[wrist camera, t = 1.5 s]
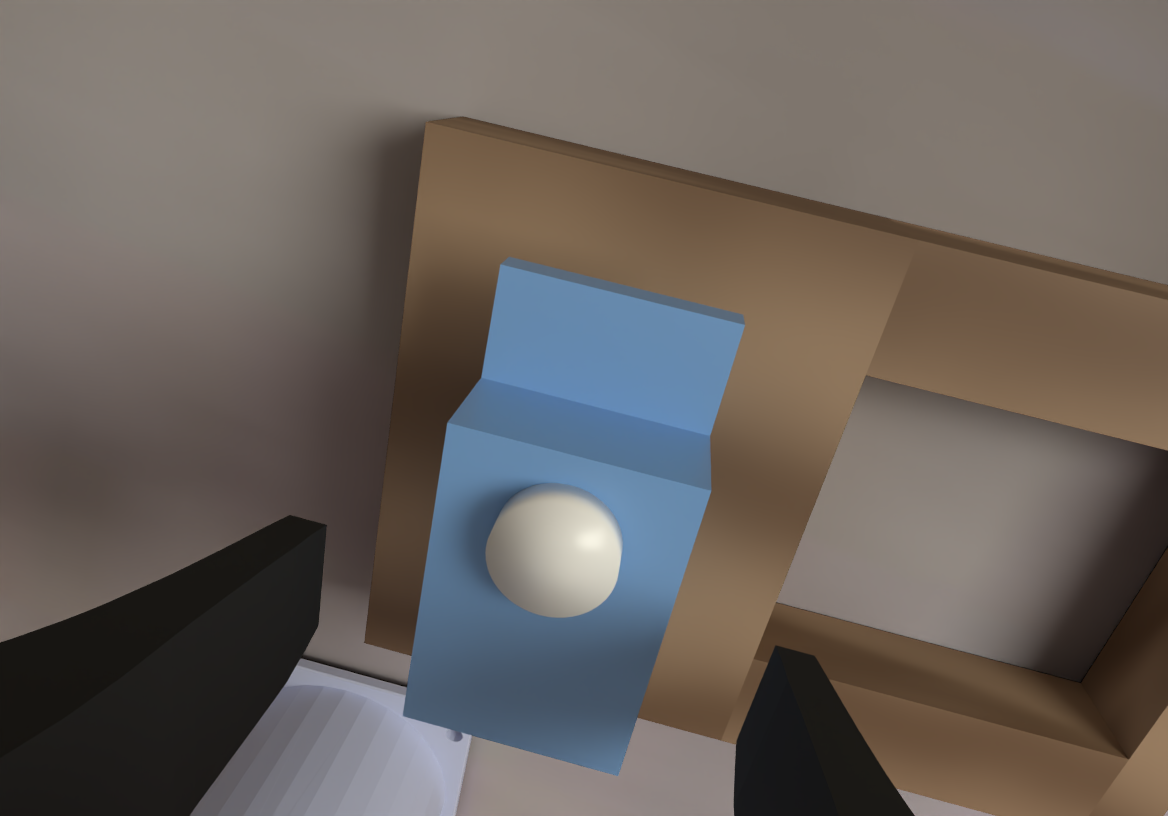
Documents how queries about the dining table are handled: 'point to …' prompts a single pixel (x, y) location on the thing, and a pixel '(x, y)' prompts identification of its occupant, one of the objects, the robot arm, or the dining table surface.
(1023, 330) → the plate
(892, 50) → the dining table surface
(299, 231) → the dining table surface
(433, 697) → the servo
